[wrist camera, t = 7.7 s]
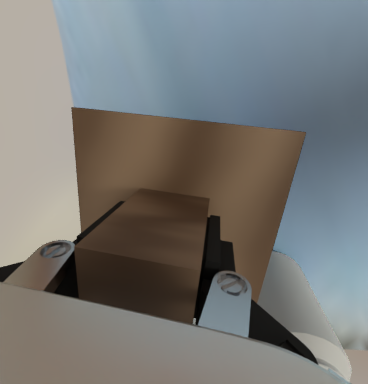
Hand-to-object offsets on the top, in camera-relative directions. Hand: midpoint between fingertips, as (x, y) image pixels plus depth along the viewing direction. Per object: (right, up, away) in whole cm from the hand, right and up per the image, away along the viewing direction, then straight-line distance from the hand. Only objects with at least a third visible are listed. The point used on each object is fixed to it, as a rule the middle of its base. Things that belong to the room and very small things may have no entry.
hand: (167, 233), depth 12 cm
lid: (0, +1, +2) cm, 2 cm away
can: (+11, -7, +14) cm, 19 cm away
